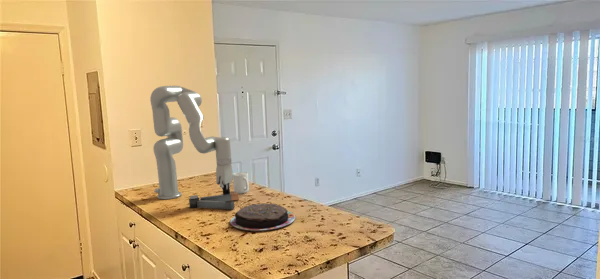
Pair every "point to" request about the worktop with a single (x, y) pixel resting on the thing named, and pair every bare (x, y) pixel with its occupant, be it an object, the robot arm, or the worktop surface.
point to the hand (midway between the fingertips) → (226, 196)
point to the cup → (241, 182)
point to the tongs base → (211, 204)
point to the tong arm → (218, 197)
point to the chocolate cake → (262, 218)
